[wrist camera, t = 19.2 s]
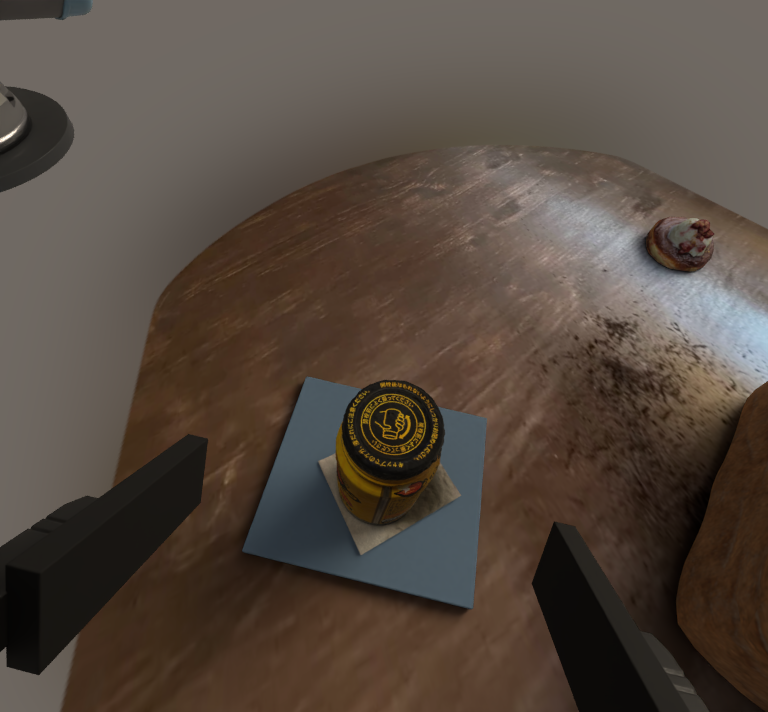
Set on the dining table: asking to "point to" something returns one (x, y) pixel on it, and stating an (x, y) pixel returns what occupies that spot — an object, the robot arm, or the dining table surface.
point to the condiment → (388, 462)
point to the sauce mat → (327, 525)
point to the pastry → (681, 243)
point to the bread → (733, 562)
